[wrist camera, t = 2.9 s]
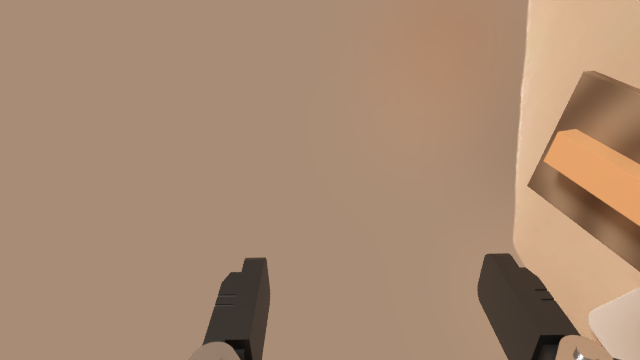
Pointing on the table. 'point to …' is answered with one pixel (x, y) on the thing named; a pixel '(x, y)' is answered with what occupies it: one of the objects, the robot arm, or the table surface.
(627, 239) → the shelf stand
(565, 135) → the orange bar
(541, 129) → the table surface
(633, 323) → the computer
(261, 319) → the robot arm
